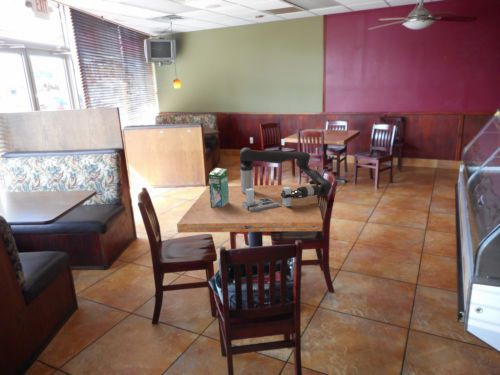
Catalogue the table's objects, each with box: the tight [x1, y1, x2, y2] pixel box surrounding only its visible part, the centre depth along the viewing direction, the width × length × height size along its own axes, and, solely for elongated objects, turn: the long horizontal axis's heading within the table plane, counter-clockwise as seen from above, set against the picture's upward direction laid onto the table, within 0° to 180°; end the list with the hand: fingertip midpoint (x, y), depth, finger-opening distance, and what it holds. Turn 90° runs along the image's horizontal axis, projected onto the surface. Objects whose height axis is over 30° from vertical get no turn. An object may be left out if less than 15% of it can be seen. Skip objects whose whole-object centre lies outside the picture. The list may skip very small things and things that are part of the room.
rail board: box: [240, 197, 282, 214], centre depth 233 cm, size 16×22×4 cm
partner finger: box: [245, 188, 256, 205], centre depth 231 cm, size 4×5×12 cm
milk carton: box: [208, 167, 230, 209], centre depth 237 cm, size 9×9×25 cm
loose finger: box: [281, 186, 292, 208], centre depth 233 cm, size 4×5×12 cm
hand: (283, 195), depth 232 cm, fingers closed on loose finger, 4 cm apart
